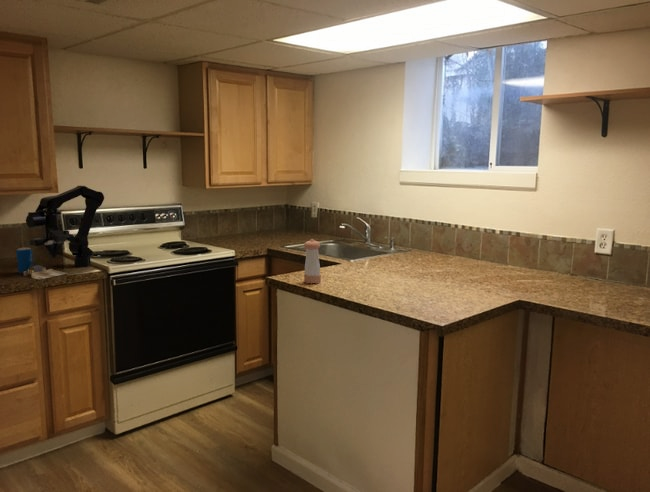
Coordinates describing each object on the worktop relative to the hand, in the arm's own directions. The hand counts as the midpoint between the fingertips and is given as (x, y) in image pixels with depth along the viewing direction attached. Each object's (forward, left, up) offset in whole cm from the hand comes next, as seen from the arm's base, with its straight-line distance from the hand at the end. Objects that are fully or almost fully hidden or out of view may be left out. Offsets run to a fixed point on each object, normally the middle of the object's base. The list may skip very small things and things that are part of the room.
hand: (54, 258), depth 258 cm
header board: (+5, 0, -8) cm, 9 cm away
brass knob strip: (+11, -2, -7) cm, 13 cm away
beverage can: (+7, -13, -8) cm, 17 cm away
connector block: (+8, -2, -7) cm, 11 cm away
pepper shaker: (-52, +110, -8) cm, 122 cm away
